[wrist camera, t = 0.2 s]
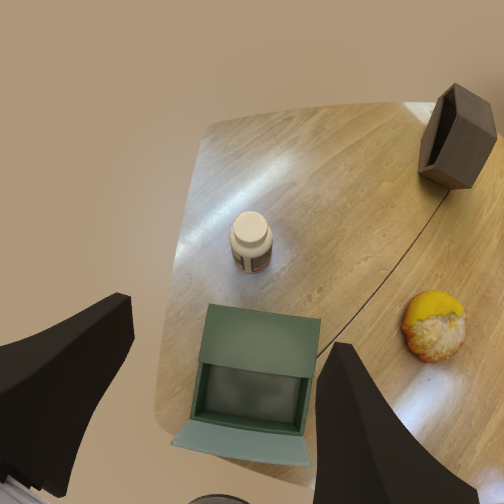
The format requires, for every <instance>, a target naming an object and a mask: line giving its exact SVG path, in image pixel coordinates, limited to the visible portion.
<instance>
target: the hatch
mask: <svg viewBox="0 0 504 504" xmlns="http://www.w3.org/2000/svg"><path fill="white" fill-rule="evenodd" d="M171 445H173V446H177V447H181V448H185V449H189V450H194V451H198V452H202V453H207V454H212V455H217V456H222V457H228V458H234V459H240V460H246V461H254V462H261V463H270V464H280V465H292V466H309V467H311V464H312V463H311V460H310V456H309V453H308V450H307V446H306V443H305V439H304V437H303V436H291V435H280V434H271V433H263V432H256V431H249V430H242V429H236V428H230V427H224V426H219V425H214V424H209V423H204V422H199V421H195V420H190V419H189V420H188V421H187V422H186V423H185V425H184V426H183V427H182V428H181V430H180V431H179V432H178V433H177V435H176V436H175V437H174V439H173V440H172V441H171Z"/></svg>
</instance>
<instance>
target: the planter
mask: <svg viewBox="0 0 504 504" xmlns="http://www.w3.org/2000/svg"><path fill="white" fill-rule="evenodd" d="M496 141H497V133H496V128H495V124H494V119H493V115H492V110H491V106H490V103H488V102H487V101H485V100H483V99H482V98H480V97H479V96H477V95H475V94H474V93H472V92H470V91H468V90H467V89H465V88H464V87H462V86H460V85H458V84H456V83H454V84H453V85H452V86H451V87H450V88H449V89H448V90H447V91H446V92H445V93H444V94H443V95H442V96H441V97H439V98H438V101H437V103H436V106H435V108H434V111H433V113H432V116H431V118H430V120H429V123H428V125H427V128H426V130H425V132H424V135H423V137H422V140H421V149H420V158H419V167H418V173H419V174H421V175H423V176H425V177H427V178H429V179H431V180H433V181H435V182H437V183H439V184H440V185H442V186H444V187H446V188H448V189H450V190H454V189H470V188H472V186H473V184H474V182H475V181H476V179H477V177H478V175H479V173H480V172H481V170H482V168H483V166H484V164H485V162H486V160H487V159H488V157H489V155H490V153H491V151H492V149H493V147H494V145H495V143H496Z"/></svg>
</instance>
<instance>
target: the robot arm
mask: <svg viewBox="0 0 504 504" xmlns="http://www.w3.org/2000/svg"><path fill="white" fill-rule="evenodd" d="M134 337H135V336H134V327H133V318H132V306H131V297H130V296H127V295H124V294H121V293H114V294H112V295H110V296H108V297H106V298H104V299H103V300H101V301H99V302H97V303H96V304H94V305H92V306H90V307H88V308H87V309H85V310H83V311H81V312H79V313H78V314H76V315H74V316H72V317H70V318H68V319H66V320H64V321H63V322H60V323H58V324H57V325H54V326H52V327H51V328H48V329H47V330H44V331H42V332H40V333H38V334H35V335H33V336H30V337H27V338H25V339H23V340H20V341H17V342H13V343H10V344H7V345H3V346H0V504H51V503H49V502H47V501H46V500H44V499H43V498H41V497H40V496H38V495H36V494H35V493H33V492H32V491H30V490H29V489H30V487H31V486H32V487H34V488H35V489H37V490H38V491H40V490H41V489H44V490H45V491H47V492H48V493H50V494H52V495H53V496H55V497H57V498H60V497H64V496H66V492H67V488H68V483H69V479H70V475H71V471H72V468H73V465H74V461H75V458H76V455H77V452H78V449H79V446H80V443H81V441H82V438H83V436H84V433H85V431H86V428H87V426H88V423H89V421H90V419H91V417H92V414H93V412H94V410H95V409H96V407H97V405H98V403H99V401H100V400H101V398H102V396H103V395H104V393H105V391H106V390H107V388H108V387H109V385H110V384H111V382H112V380H113V379H114V377H115V375H116V374H117V372H118V370H119V369H120V367H121V366H122V364H123V362H124V361H125V359H126V357H127V354H128V352H129V350H130V348H131V345H132V343H133V341H134V339H135V338H134ZM315 410H316V433H317V475H316V484H315V493H314V499H313V504H480V503H479V498H478V493H477V490H476V489H475V488H473V487H472V486H470V485H469V484H467V483H466V482H464V481H463V480H461V479H460V478H458V477H457V476H455V475H454V474H453V473H451V472H450V471H449V470H448V469H447V468H445V467H444V466H443V465H442V464H441V463H439V462H438V461H437V460H436V459H435V458H434V457H433V456H432V455H431V454H430V453H429V452H428V451H427V450H426V449H425V448H424V447H423V446H422V445H421V444H420V443H419V442H418V441H417V440H416V439H415V438H414V437H413V436H412V434H411V433H410V432H409V431H408V429H407V428H406V427H405V426H404V425H403V423H402V422H401V421H400V420H399V418H398V417H397V416H396V414H395V413H394V412H393V410H392V409H391V407H390V406H389V404H388V403H387V402H386V400H385V399H384V397H383V396H382V394H381V393H380V391H379V389H378V388H377V386H376V385H375V383H374V381H373V380H372V378H371V376H370V375H369V373H368V371H367V370H366V368H365V366H364V364H363V363H362V361H361V359H360V358H359V356H358V354H357V352H356V351H355V349H354V347H353V346H352V344H347V343H340V342H335V343H334V345H333V347H332V350H331V352H330V354H329V356H328V358H327V360H326V363H325V365H324V367H323V369H322V371H321V373H320V375H319V377H318V379H317V388H316V402H315Z"/></svg>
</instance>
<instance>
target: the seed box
mask: <svg viewBox="0 0 504 504" xmlns="http://www.w3.org/2000/svg"><path fill="white" fill-rule="evenodd" d="M320 323H321V319H314V318H306V317H298V316H290V315H282V314H275V313H268V312H260V311H254V310H247V309H240V308H234V307H227V306H221V305H215V304H209V305H208V311H207V316H206V321H205V327H204V332H203V337H202V343H201V349H200V354H199V360H198V362H199V365H198V371H197V377H196V383H195V389H194V395H193V401H192V407H191V413H190V419H191V420H195V421H200V422H204V423H209V424H214V425H219V426H225V427H231V428H236V429H243V430H249V431H256V432H264V433H272V434H281V435H292V436H303V434H304V428H305V423H306V417H307V411H308V405H309V399H310V392H311V386H312V379H313V378H314V371H315V364H316V356H317V348H318V340H319V332H320Z"/></svg>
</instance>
